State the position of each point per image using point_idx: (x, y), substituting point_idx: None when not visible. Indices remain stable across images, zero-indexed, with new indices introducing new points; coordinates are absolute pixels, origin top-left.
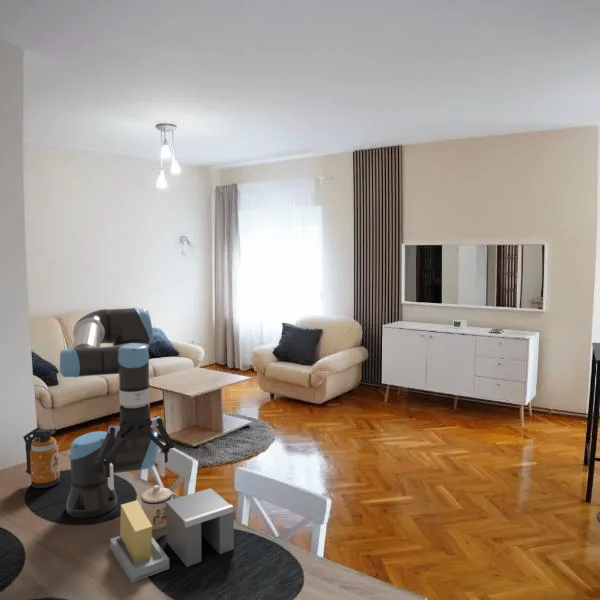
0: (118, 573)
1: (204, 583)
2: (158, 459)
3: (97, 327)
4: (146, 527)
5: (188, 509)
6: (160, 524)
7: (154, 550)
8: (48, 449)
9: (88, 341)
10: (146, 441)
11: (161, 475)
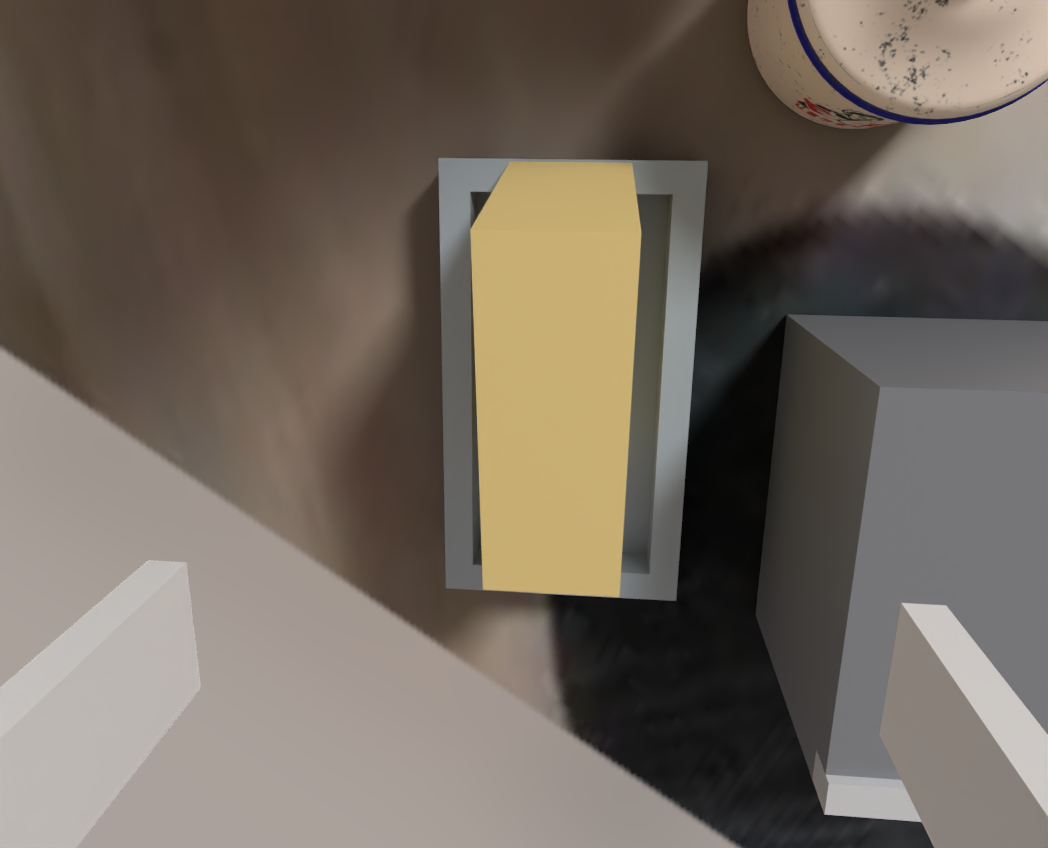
0: (422, 445)
1: (757, 772)
2: (1006, 762)
3: None
4: (574, 588)
5: None
6: (843, 127)
7: (656, 425)
8: None
9: None
10: None
11: (886, 712)
